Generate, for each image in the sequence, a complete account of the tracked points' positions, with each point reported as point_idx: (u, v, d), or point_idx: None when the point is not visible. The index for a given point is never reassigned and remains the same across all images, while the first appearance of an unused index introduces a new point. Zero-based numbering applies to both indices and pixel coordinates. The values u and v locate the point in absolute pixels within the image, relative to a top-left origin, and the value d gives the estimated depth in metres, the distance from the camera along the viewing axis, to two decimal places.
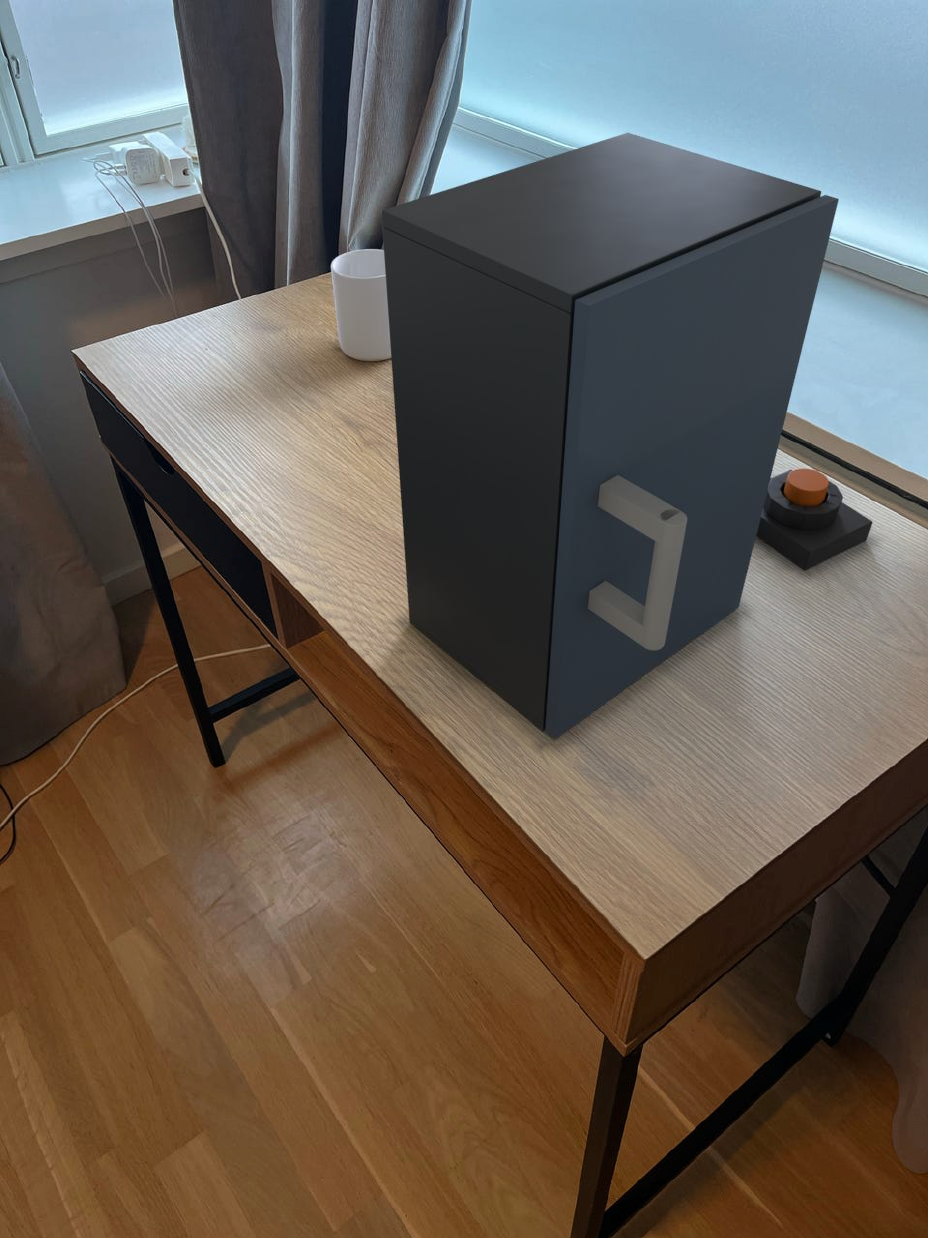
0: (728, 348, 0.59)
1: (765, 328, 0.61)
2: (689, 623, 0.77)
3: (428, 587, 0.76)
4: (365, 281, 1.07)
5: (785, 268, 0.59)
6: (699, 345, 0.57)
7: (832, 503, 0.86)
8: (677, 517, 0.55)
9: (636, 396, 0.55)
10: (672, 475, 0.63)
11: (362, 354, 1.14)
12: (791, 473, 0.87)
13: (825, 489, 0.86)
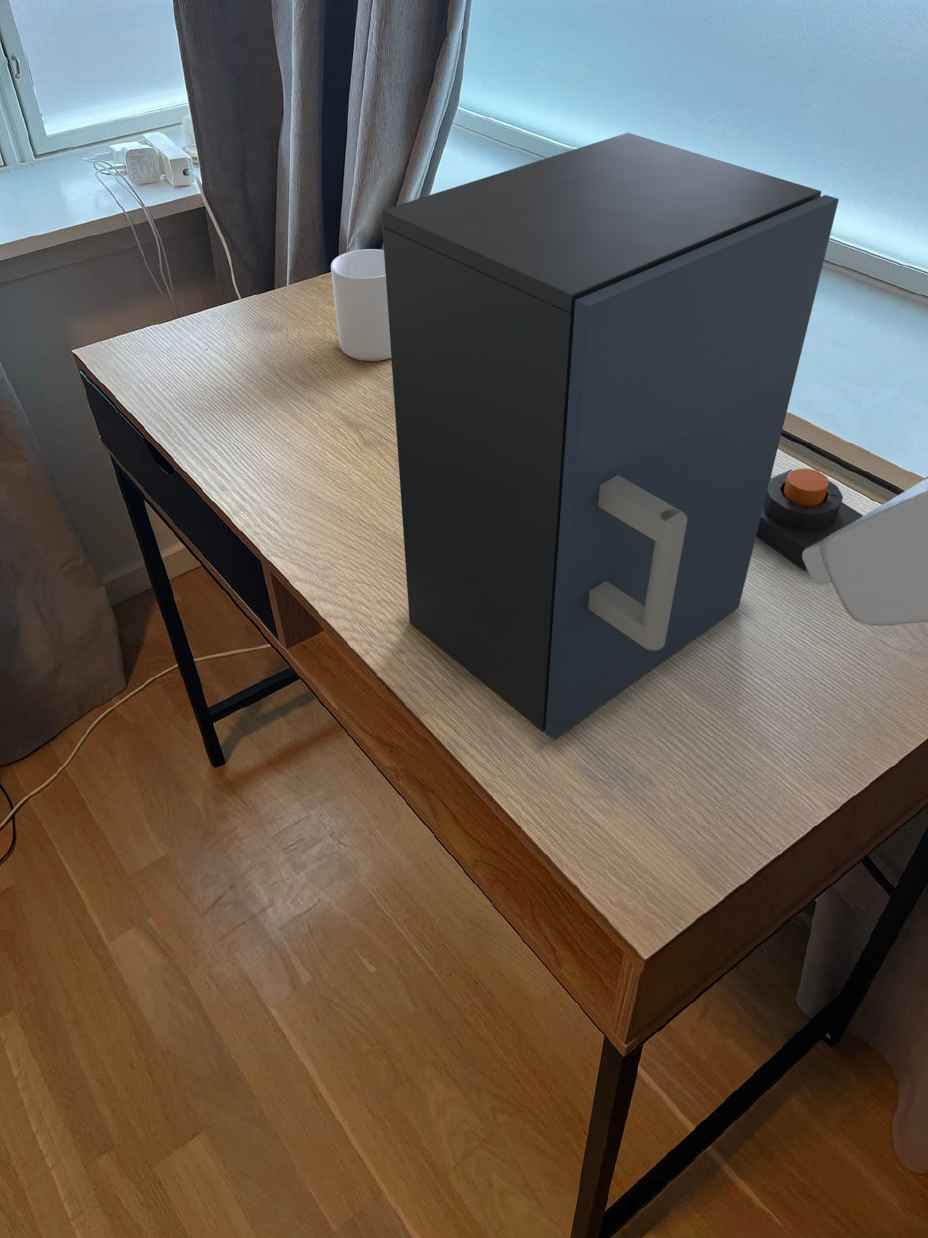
0: (728, 348, 0.59)
1: (765, 328, 0.61)
2: (689, 623, 0.77)
3: (428, 587, 0.76)
4: (365, 281, 1.07)
5: (785, 268, 0.59)
6: (699, 345, 0.57)
7: (832, 503, 0.86)
8: (677, 517, 0.55)
9: (636, 396, 0.55)
10: (672, 475, 0.63)
11: (362, 354, 1.14)
12: (791, 473, 0.87)
13: (825, 489, 0.86)
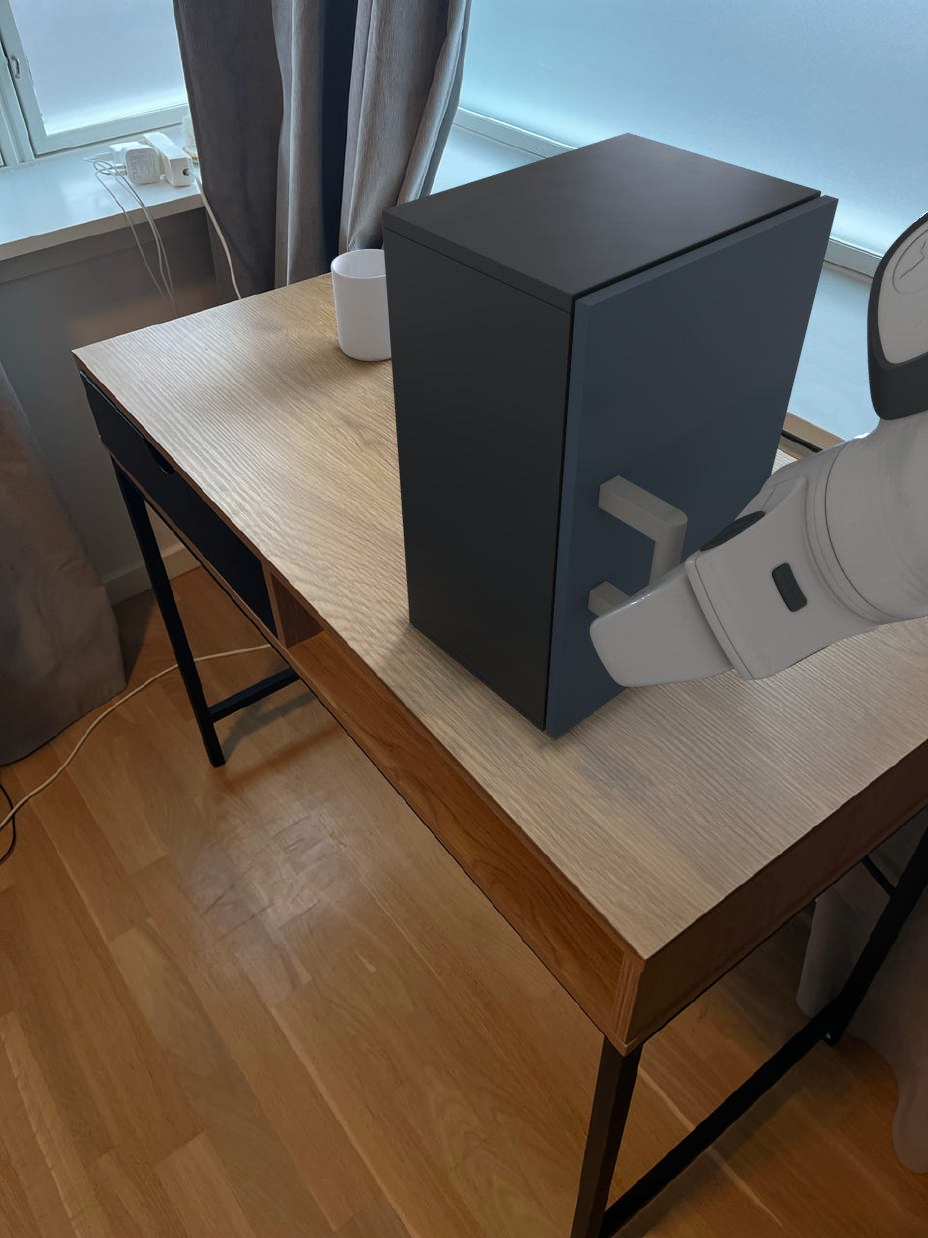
0: (728, 348, 0.59)
1: (765, 328, 0.61)
2: None
3: (428, 587, 0.76)
4: (365, 281, 1.07)
5: (785, 268, 0.59)
6: (699, 345, 0.57)
7: None
8: (677, 517, 0.55)
9: (636, 396, 0.55)
10: (672, 475, 0.63)
11: (362, 354, 1.14)
12: None
13: None
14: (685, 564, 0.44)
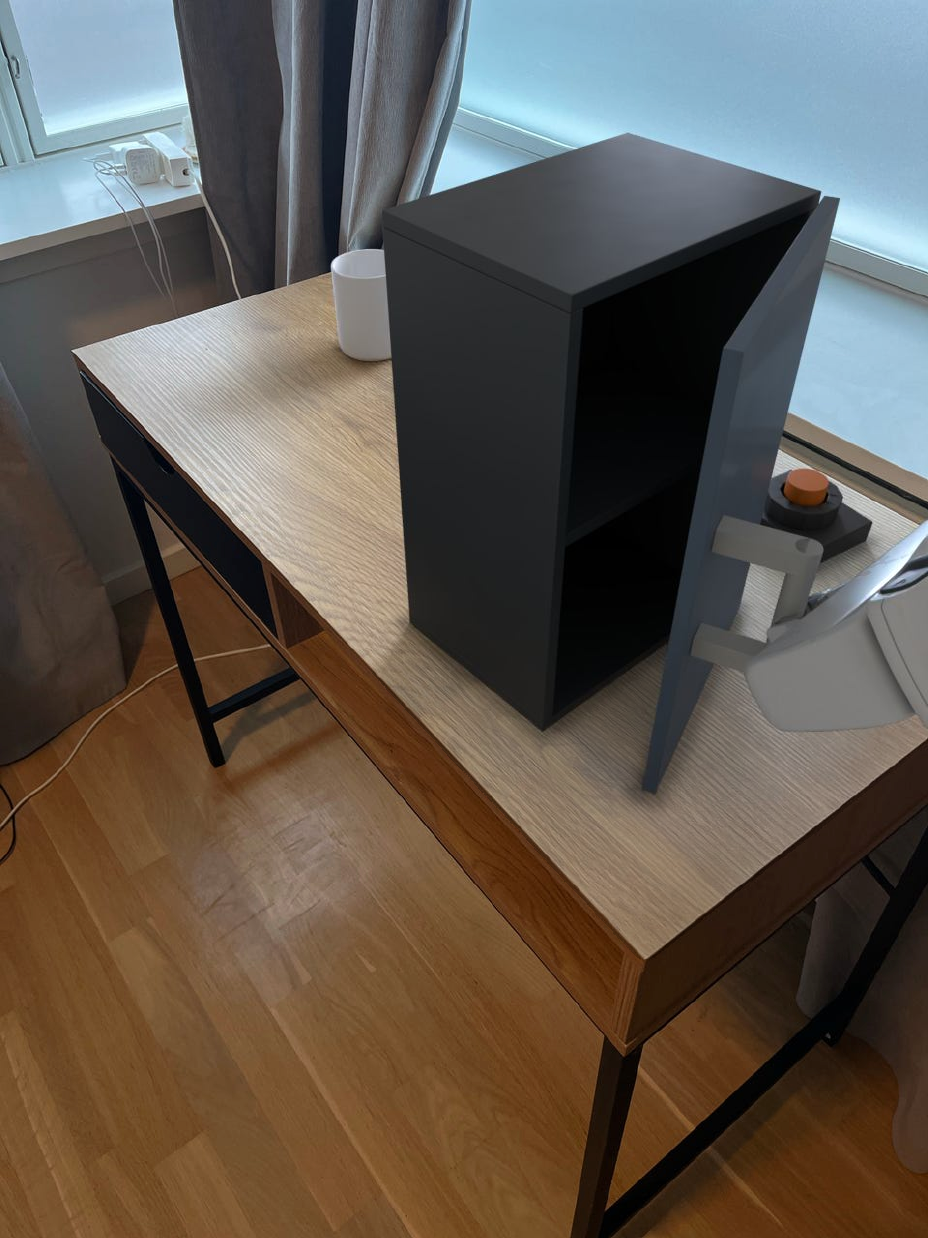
0: (781, 363, 0.58)
1: (796, 336, 0.60)
2: None
3: (428, 587, 0.76)
4: (365, 281, 1.07)
5: (812, 274, 0.58)
6: (772, 367, 0.55)
7: (832, 503, 0.86)
8: (812, 546, 0.53)
9: (743, 432, 0.52)
10: (741, 500, 0.61)
11: (362, 354, 1.14)
12: (791, 473, 0.87)
13: (825, 489, 0.86)
14: (867, 607, 0.41)
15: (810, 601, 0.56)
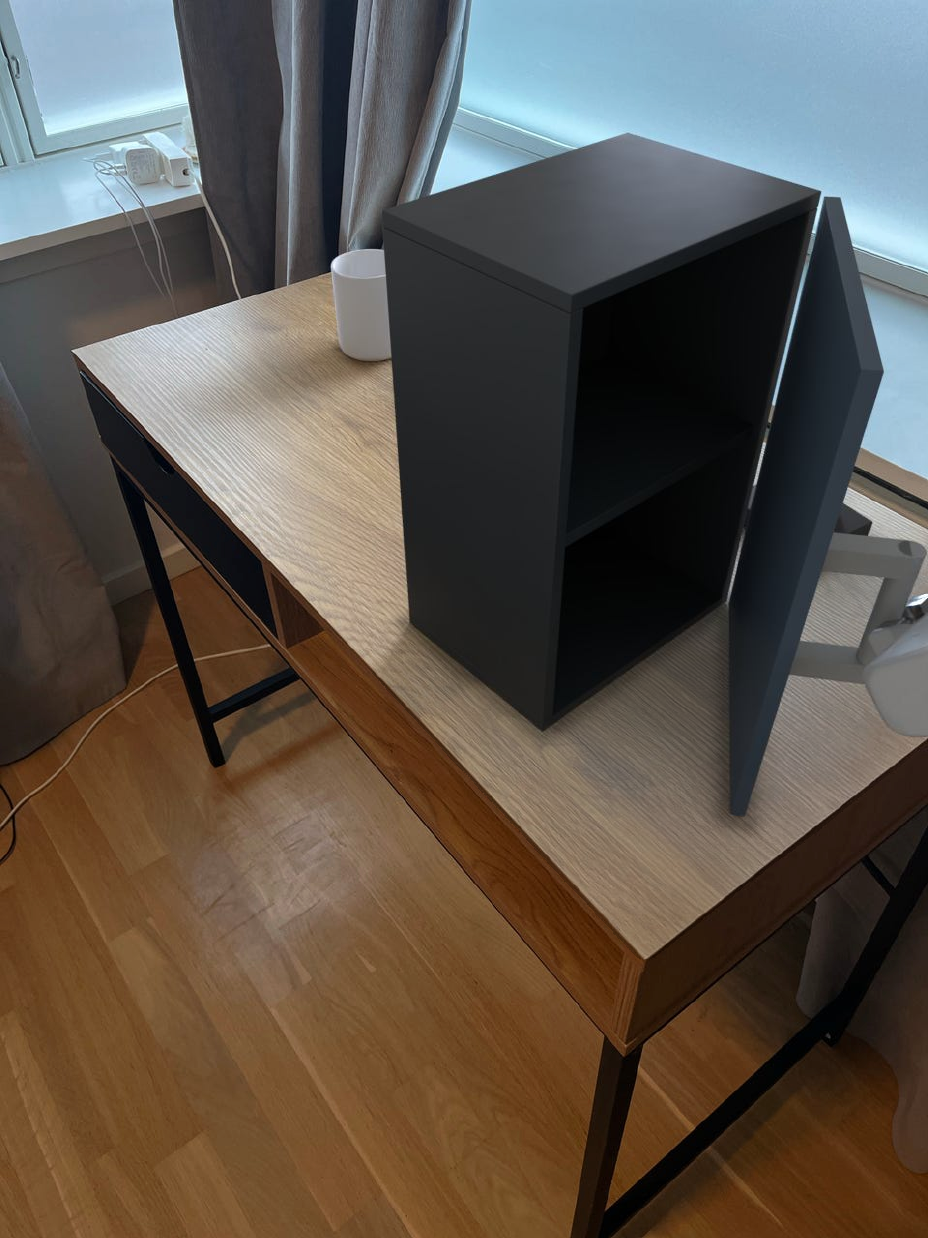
0: None
1: None
2: None
3: (428, 587, 0.76)
4: (365, 281, 1.07)
5: None
6: None
7: None
8: (915, 547, 0.53)
9: None
10: None
11: (362, 354, 1.14)
12: None
13: None
14: None
15: (912, 605, 0.56)
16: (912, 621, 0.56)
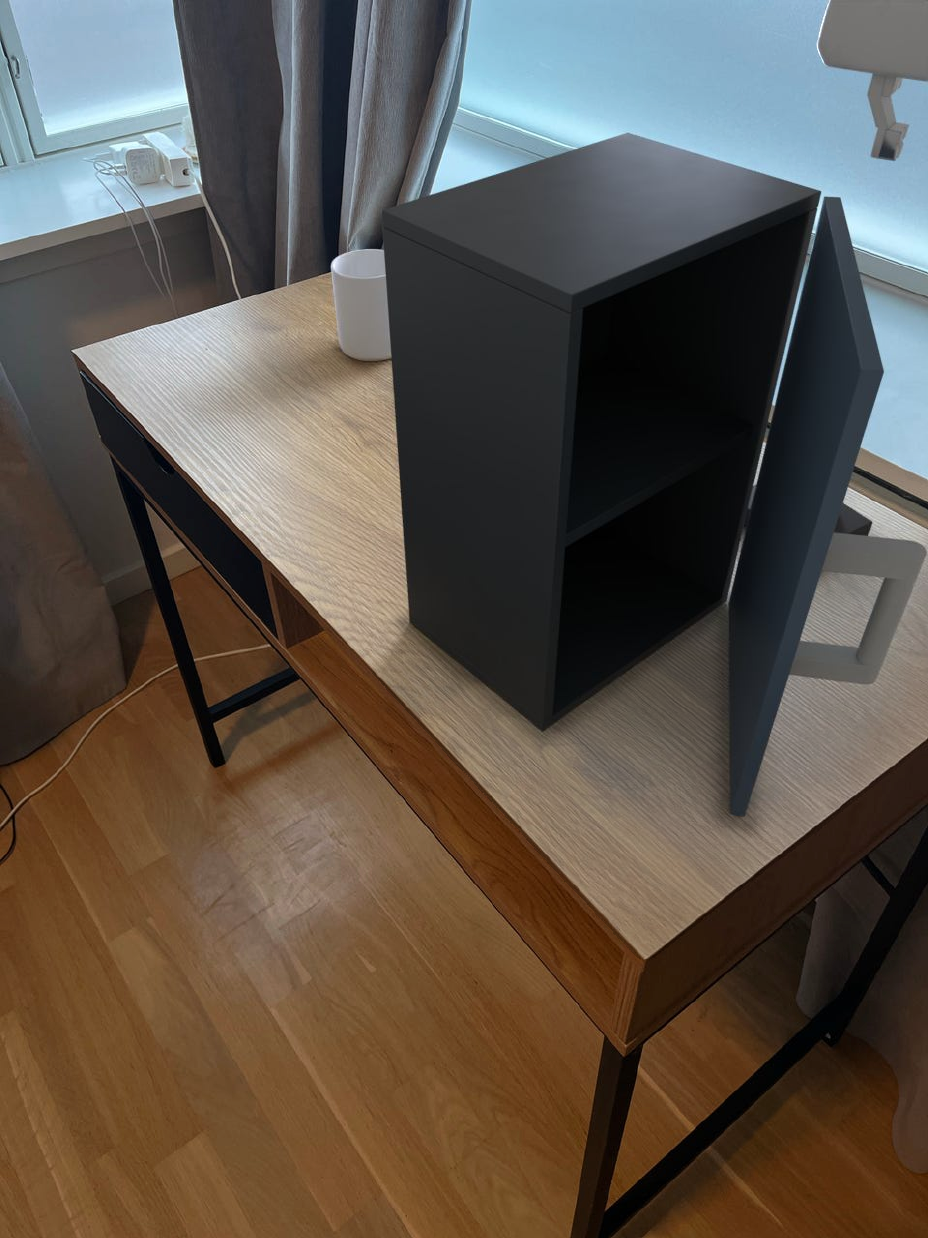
0: None
1: None
2: None
3: (428, 587, 0.76)
4: (365, 281, 1.07)
5: None
6: None
7: None
8: (915, 547, 0.53)
9: None
10: None
11: (362, 354, 1.14)
12: None
13: None
14: None
15: (897, 142, 0.58)
16: (899, 146, 0.59)
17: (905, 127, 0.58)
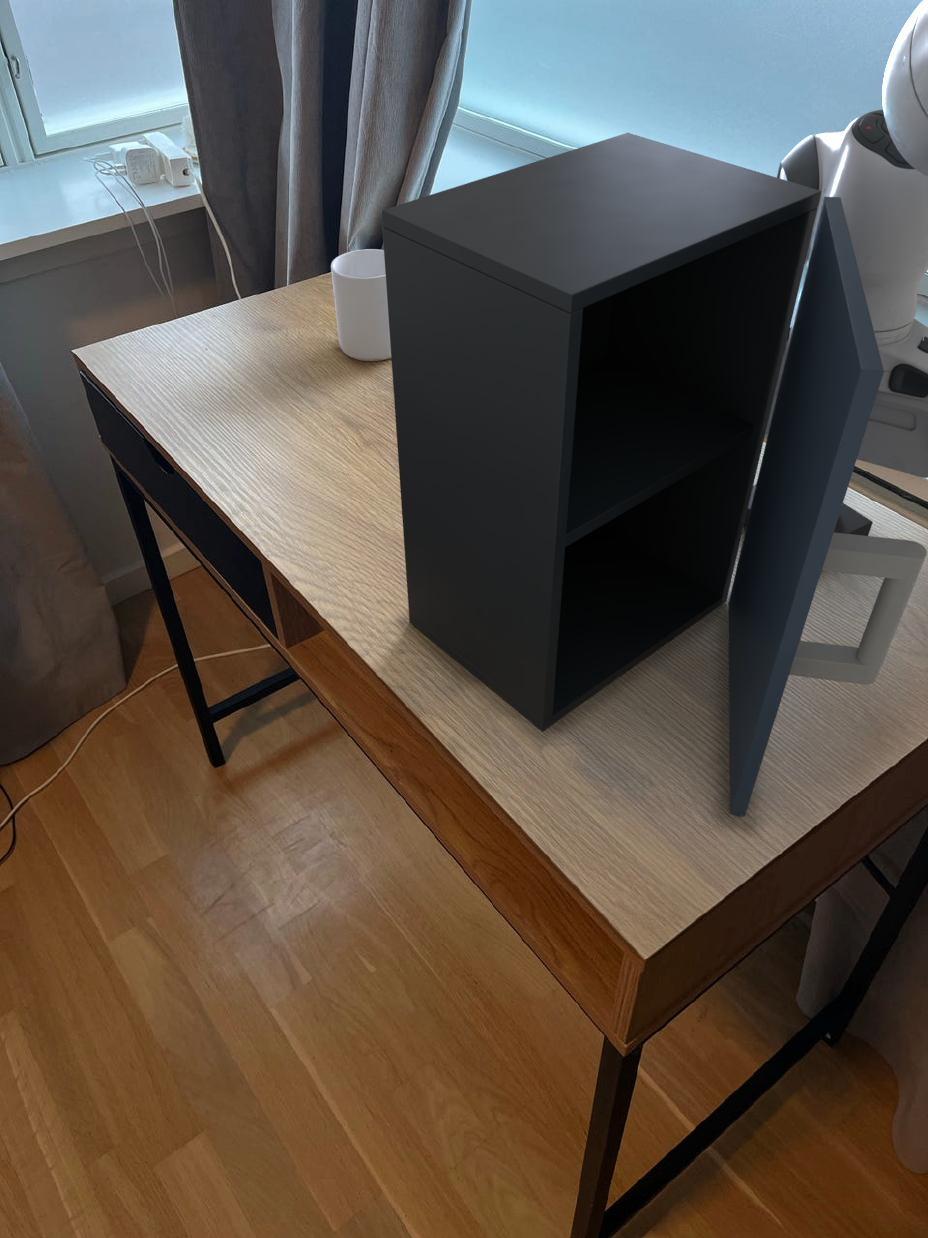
0: None
1: None
2: None
3: (428, 587, 0.76)
4: (365, 281, 1.07)
5: None
6: None
7: None
8: (915, 547, 0.53)
9: None
10: None
11: (362, 354, 1.14)
12: None
13: None
14: None
15: None
16: None
17: None
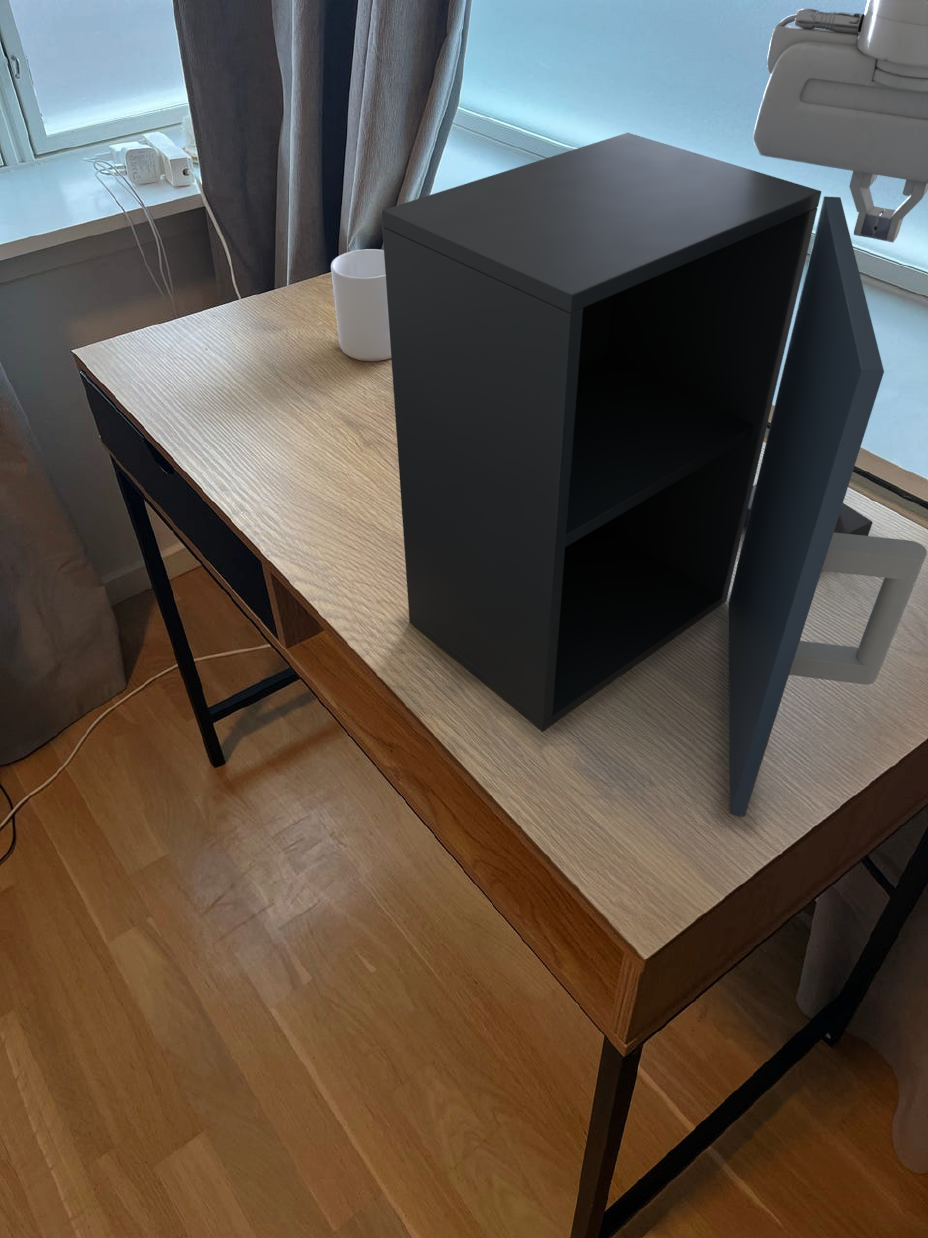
0: None
1: None
2: None
3: (428, 587, 0.76)
4: (365, 281, 1.07)
5: None
6: None
7: None
8: (915, 547, 0.53)
9: None
10: None
11: (362, 354, 1.14)
12: None
13: None
14: None
15: (875, 224, 0.70)
16: (877, 226, 0.71)
17: (881, 211, 0.71)
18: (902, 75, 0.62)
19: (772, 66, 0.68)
